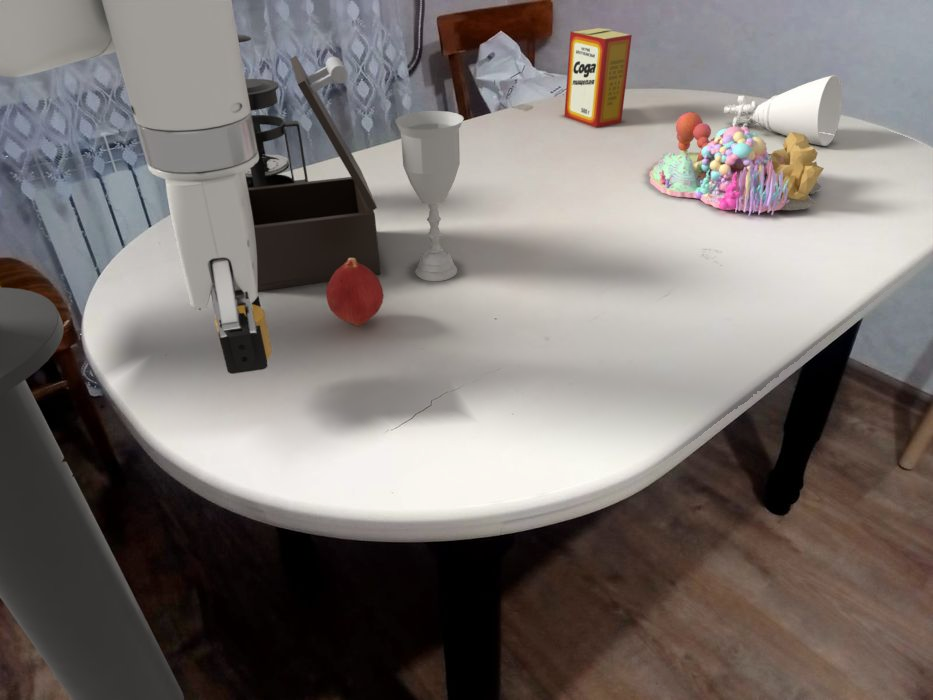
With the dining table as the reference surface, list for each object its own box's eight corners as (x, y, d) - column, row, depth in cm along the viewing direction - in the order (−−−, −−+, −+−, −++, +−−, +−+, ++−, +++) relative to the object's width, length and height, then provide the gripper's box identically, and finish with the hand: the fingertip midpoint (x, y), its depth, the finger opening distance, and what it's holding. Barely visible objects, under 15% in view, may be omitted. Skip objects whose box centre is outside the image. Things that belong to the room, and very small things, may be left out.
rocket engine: (727, 70, 122) (832, 61, 110) (747, 103, 130) (847, 97, 118) (708, 128, 121) (812, 125, 109) (730, 157, 130) (828, 157, 118)
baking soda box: (621, 121, 129) (631, 32, 120) (596, 127, 126) (605, 36, 117) (588, 111, 136) (596, 25, 127) (564, 116, 133) (570, 29, 124)
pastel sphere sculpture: (809, 166, 107) (826, 108, 102) (833, 225, 89) (855, 157, 84) (652, 154, 113) (660, 99, 108) (644, 207, 95) (654, 143, 89)
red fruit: (321, 321, 71) (310, 254, 66) (368, 304, 73) (361, 239, 69) (347, 346, 67) (337, 276, 62) (395, 327, 69) (389, 259, 65)
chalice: (416, 289, 76) (405, 133, 66) (399, 264, 81) (387, 115, 71) (474, 277, 78) (473, 124, 68) (454, 253, 83) (450, 107, 73)
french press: (227, 223, 92) (185, 45, 79) (230, 198, 99) (192, 31, 86) (313, 214, 94) (285, 39, 81) (309, 190, 102) (284, 27, 88)
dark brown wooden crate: (256, 291, 76) (241, 229, 72) (254, 245, 86) (241, 188, 82) (380, 274, 79) (374, 213, 75) (365, 231, 89) (359, 175, 85)
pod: (219, 369, 55) (209, 330, 53) (229, 342, 58) (219, 304, 56) (268, 367, 55) (260, 327, 53) (275, 340, 59) (267, 302, 56)
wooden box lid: (297, 84, 65) (341, 59, 65) (289, 58, 75) (328, 37, 75) (371, 211, 74) (410, 190, 74) (355, 173, 84) (390, 155, 84)
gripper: (155, 112, 52) (206, 309, 62) (126, 191, 39) (197, 423, 49) (253, 106, 54) (287, 299, 64) (258, 179, 40) (299, 407, 51)
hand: (247, 351), depth 57 cm, fingers closed on pod, 4 cm apart
